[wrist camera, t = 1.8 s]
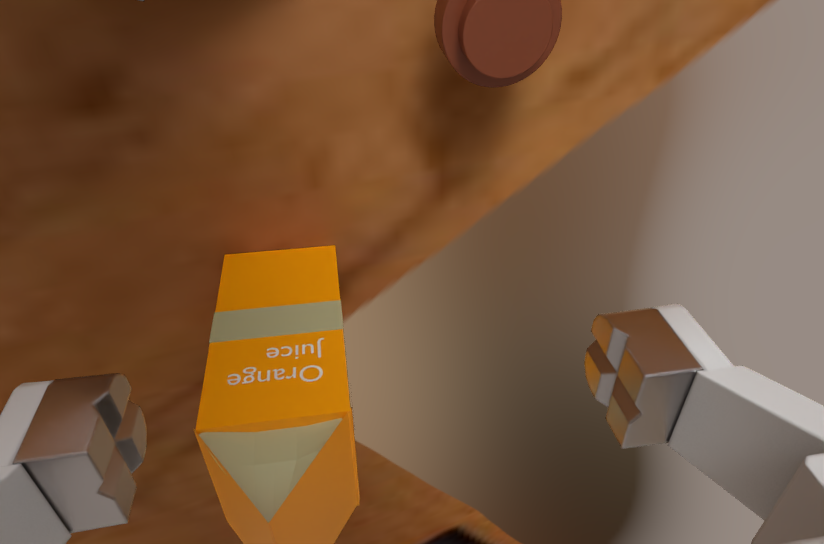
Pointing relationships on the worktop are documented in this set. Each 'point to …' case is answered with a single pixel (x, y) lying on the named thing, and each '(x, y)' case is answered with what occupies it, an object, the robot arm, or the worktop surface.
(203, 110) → the worktop surface
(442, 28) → the brown stepped knob
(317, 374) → the orange juice
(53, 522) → the robot arm
